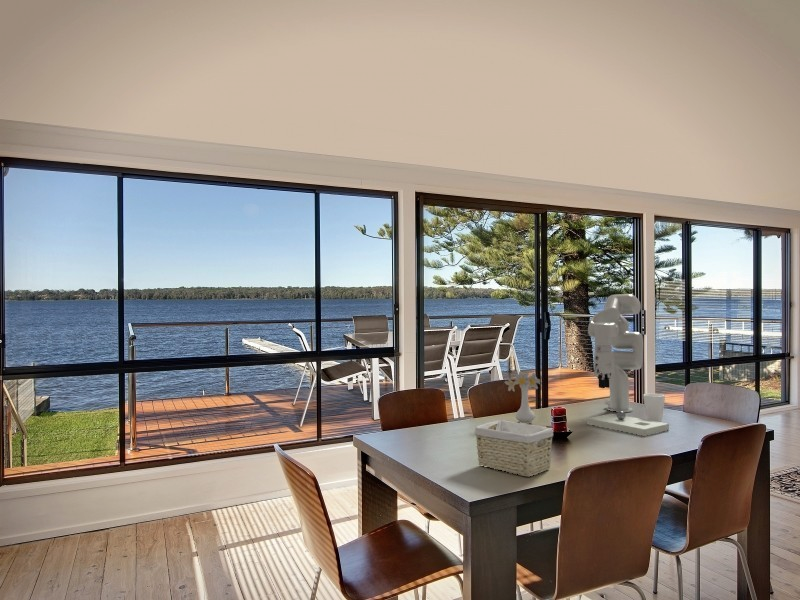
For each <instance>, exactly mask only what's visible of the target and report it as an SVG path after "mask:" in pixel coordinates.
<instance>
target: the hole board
mask: <svg viewBox="0 0 800 600" xmlns="http://www.w3.org/2000/svg"><path fill="white" fill-rule="evenodd" d="M616 415H617V413H608V414H603V415H597V416H592V417H587V422H586V423H587V425H588V424H589V426H592V425H595V426H594V427H597V426H599V427H598V428H602V427H604V428H603V429H607V428H609V429H608V430H612V429H614V430H613V431H617V430H619V431H618V432H621V431H623V432H622V433H626V432H628V433H627V434H631V433H633V434H632V435H636V434H637V436H641V435H642V437H647V435H648V436H651V434H652V435H656V434H659V432H660V433H663V432H662V431H665V432H668V431H667V430H669V431H670V424H669V423H666V422H663V421H662V422H656V421H651V420H647V419H645V418H639V417H634V416H628V415H626V417H625V419H623V420H619V419H618V418H617V416H616ZM655 433H656V434H655Z"/></svg>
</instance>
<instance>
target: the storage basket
mask: <svg viewBox="0 0 800 600" xmlns="http://www.w3.org/2000/svg"><path fill="white" fill-rule="evenodd" d="M474 435H475V437H476V438H475V439H476V440H475V441H476V450H477V456H478V457H477V460H478V466H479V465H483V466H487V467H490V468H495V469H498V470H502V471H501V472H504V471H506V472H505V473H507V472H509V473H508V474H512V473H513V475H517V474H518V475H517V476H523V477H529V478H530V476H531V477H534V476H536V475H539V474H541V472H542V473H543V472H546V471H547V470H550V469H551V461H552V460H551V459H552V443H553V437H554V430H553V428H552V427H545V426H541V425H534V424H521V423H519V422H516V421H509V420H505V419H504V420H503V419H498V420H495V421H490V422H486V423H483V424H480V425H476V426H475V429H474ZM490 468H489V469H490ZM495 469H494V470H495ZM498 470H497V471H498ZM538 473H539V474H538ZM533 475H534V476H533Z"/></svg>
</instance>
